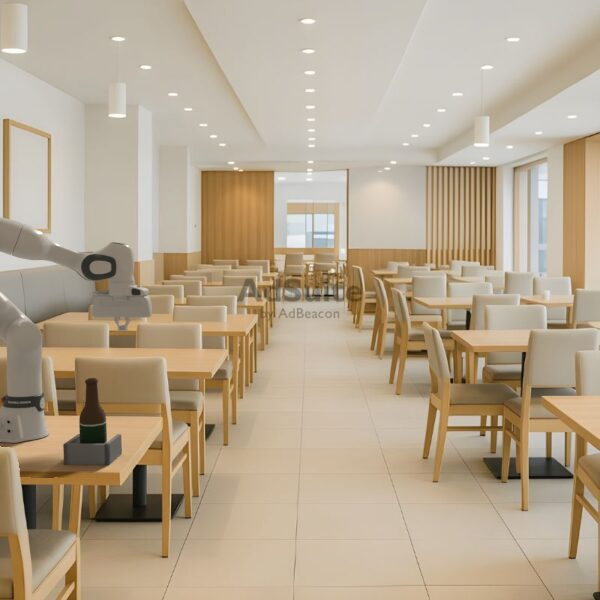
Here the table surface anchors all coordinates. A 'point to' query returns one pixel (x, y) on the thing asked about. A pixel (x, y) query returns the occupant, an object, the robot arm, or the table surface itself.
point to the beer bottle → (92, 416)
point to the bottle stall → (91, 452)
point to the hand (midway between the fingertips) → (122, 330)
